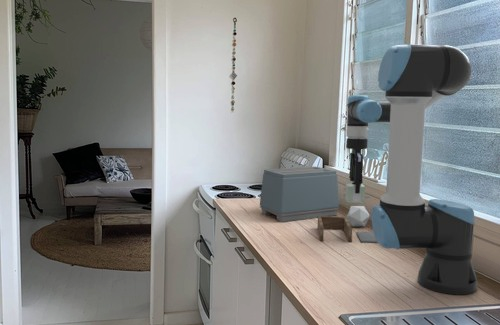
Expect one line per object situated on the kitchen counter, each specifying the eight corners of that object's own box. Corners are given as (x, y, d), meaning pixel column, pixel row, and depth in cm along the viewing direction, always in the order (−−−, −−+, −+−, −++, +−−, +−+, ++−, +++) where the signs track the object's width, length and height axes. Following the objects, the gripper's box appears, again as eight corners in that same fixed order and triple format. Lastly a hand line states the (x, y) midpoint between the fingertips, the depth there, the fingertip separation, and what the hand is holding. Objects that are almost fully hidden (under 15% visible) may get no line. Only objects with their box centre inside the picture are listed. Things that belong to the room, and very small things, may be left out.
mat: (394, 243, 168) (395, 241, 168) (361, 242, 169) (361, 240, 169) (388, 234, 180) (388, 232, 179) (356, 233, 181) (356, 231, 181)
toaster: (346, 215, 211) (347, 170, 209) (280, 223, 196) (281, 175, 193) (321, 206, 228) (322, 165, 226) (259, 213, 212) (259, 169, 210)
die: (364, 231, 186) (376, 210, 188) (344, 219, 187) (356, 198, 189) (359, 233, 194) (370, 213, 197) (340, 222, 195) (351, 202, 198)
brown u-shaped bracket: (351, 242, 169) (352, 228, 168) (320, 241, 170) (320, 227, 169) (346, 229, 187) (346, 216, 186) (317, 228, 188) (317, 216, 187)
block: (364, 202, 170) (365, 186, 169) (347, 202, 170) (348, 186, 169) (361, 199, 176) (362, 184, 175) (345, 199, 176) (346, 183, 175)
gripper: (372, 139, 161) (370, 205, 163) (362, 136, 179) (360, 195, 182) (350, 139, 161) (348, 205, 163) (342, 136, 180) (341, 195, 182)
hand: (355, 200), depth 173 cm, fingers closed on block, 6 cm apart
